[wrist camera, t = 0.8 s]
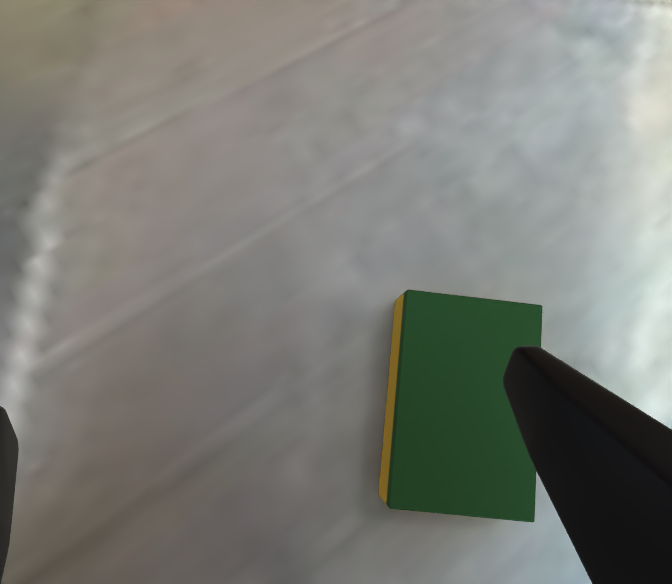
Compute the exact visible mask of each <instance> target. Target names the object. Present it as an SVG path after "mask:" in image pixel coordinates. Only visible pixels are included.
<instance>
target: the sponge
mask: <svg viewBox="0 0 672 584" xmlns="http://www.w3.org/2000/svg"><path fill="white" fill-rule="evenodd" d="M541 328H542V306H541V305H535V304H526V303H518V302H509V301H501V300H492V299H483V298H475V297H466V296H458V295H449V294H441V293H432V292H424V291H415V290H407V291H406V292H405V293H403V294H402V295H401V296H400V297H399V298H398V299H397V300H396V301H395V308H394V320H393V332H392V343H391V355H390V366H389V378H388V390H387V401H386V413H385V424H384V436H383V447H382V459H381V471H380V482H379V496H380V497H381V499H382V500H383V501H384V502H385V503H386V504H387V506H388V507H389V508H390V509H400V510H411V511H421V512H431V513H442V514H452V515H463V516H473V517H483V518H494V519H504V520H514V521H525V522H534V515H535V488H536V469H535V467H534V464H533V462H532V460H531V458H530V456H529V453H528V451H527V448H526V446H525V443H524V441H523V438H522V435H521V433H520V430H519V427H518V424H517V422H516V419H515V416H514V414H513V411H512V408H511V406H510V403H509V400H508V397H507V395H506V392H505V389H504V386H503V375H504V372H505V369H506V367H507V364H508V362H509V359H510V356H511V354H512V352H513V350H514V349H515V348H516V347H519V346H527V345H536V346H538V347H540V348H541Z"/></svg>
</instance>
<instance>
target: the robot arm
mask: <svg viewBox="0 0 672 584" xmlns="http://www.w3.org/2000/svg"><path fill="white" fill-rule="evenodd" d="M503 386H504V389H505V392H506V395H507V397H508V400H509V403H510V406H511V408H512V411H513V414H514V416H515V419H516V422H517V424H518V427H519V430H520V433H521V435H522V438H523V441H524V443H525V446H526V448H527V451H528V453H529V456H530V458H531V460H532V462H533V464H534V467H535V469H536V471H537V473H538V475H539V477H540V479H541V481H542V483H543V485H544V487H545V489H546V491H547V493H548V495H549V497H550V499H551V501H552V503H553V505H554V507H555V509H556V511H557V513H558V515H559V517H560V519H561V521H562V523H563V525H564V527H565V529H566V531H567V533H568V535H569V537H570V539H571V541H572V543H573V545H574V547H575V549H576V552H577V554H578V556H579V558H580V560H581V562H582V564H583V566H584V568H585V570H586V572H587V574H588V576H589V578H590V580H591V582H592V584H672V430H671V429H670V428H668V427H667V426H665V425H663V424H662V423H660V422H659V421H657V420H655V419H654V418H652V417H651V416H649V415H647V414H646V413H644V412H643V411H641V410H639V409H638V408H636V407H635V406H633V405H631V404H630V403H628V402H627V401H625V400H623V399H622V398H620V397H619V396H617V395H615V394H614V393H612V392H611V391H609V390H607V389H606V388H604V387H603V386H601V385H599V384H598V383H596V382H595V381H593V380H591V379H590V378H588V377H587V376H585V375H583V374H582V373H580V372H579V371H577V370H575V369H574V368H572V367H571V366H569V365H567V364H566V363H564V362H563V361H561V360H559V359H558V358H556V357H555V356H553V355H551V354H550V353H548V352H547V351H545V350H543V349H542V348H540V347H538V346H536V345H527V346H519V347H516V348H515V349H514V350H513V352H512V354H511V356H510V359H509V362H508V364H507V367H506V369H505V372H504V375H503ZM17 462H18V440H17V437H16V434H15V432H14V429H13V427H12V424H11V422H10V420H9V417H8V415H7V412H6V411H5V409H4V408H3V407H1V406H0V584H1V580H2V576H3V572H4V567H5V563H6V558H7V553H8V547H9V542H10V533H11V524H12V514H13V503H14V493H15V483H16V472H17Z"/></svg>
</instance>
